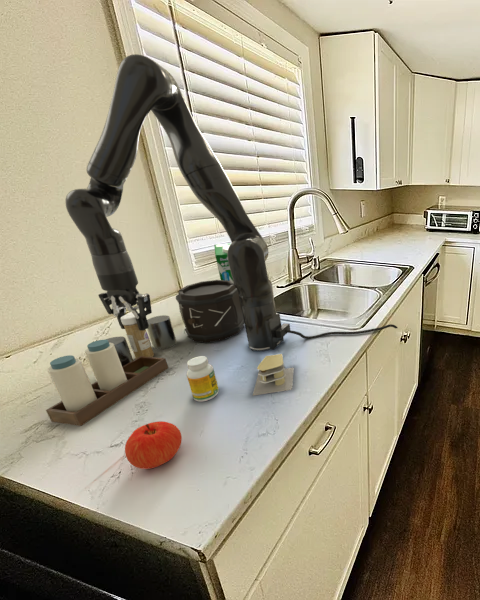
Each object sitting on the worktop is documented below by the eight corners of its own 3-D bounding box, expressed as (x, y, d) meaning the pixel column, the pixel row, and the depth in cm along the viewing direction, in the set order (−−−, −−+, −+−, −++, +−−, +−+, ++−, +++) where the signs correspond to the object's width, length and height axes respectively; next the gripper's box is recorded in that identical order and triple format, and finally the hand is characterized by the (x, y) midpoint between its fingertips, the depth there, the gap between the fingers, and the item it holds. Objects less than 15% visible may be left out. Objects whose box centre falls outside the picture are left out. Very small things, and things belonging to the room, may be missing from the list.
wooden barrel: (171, 342, 102) (157, 295, 96) (213, 318, 118) (203, 277, 113) (220, 347, 98) (208, 299, 93) (257, 323, 115) (249, 280, 109)
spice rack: (168, 369, 88) (165, 358, 86) (81, 427, 68) (75, 414, 66) (144, 366, 89) (141, 355, 88) (52, 423, 69) (45, 410, 68)
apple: (120, 478, 56) (105, 442, 53) (153, 442, 64) (141, 409, 61) (166, 477, 56) (153, 442, 53) (194, 442, 64) (183, 409, 61)
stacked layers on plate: (258, 372, 86) (255, 354, 84) (293, 367, 88) (291, 349, 86) (252, 395, 77) (248, 376, 75) (291, 389, 79) (288, 370, 77)
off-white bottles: (135, 386, 80) (117, 338, 75) (82, 420, 69) (57, 367, 64) (118, 384, 81) (99, 337, 76) (63, 417, 70) (37, 365, 65)
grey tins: (181, 342, 102) (174, 316, 99) (120, 379, 84) (108, 348, 81) (165, 340, 103) (157, 314, 100) (101, 376, 85) (88, 346, 82)
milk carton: (228, 314, 122) (213, 248, 113) (227, 306, 129) (214, 244, 120) (254, 310, 126) (242, 246, 117) (252, 302, 133) (240, 241, 124)
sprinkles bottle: (154, 358, 93) (140, 316, 88) (134, 363, 91) (118, 320, 86) (155, 352, 96) (141, 310, 92) (136, 356, 94) (121, 314, 89)
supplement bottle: (194, 391, 79) (184, 357, 75) (219, 385, 81) (211, 352, 77) (192, 405, 74) (181, 369, 71) (219, 398, 76) (209, 363, 73)
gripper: (151, 266, 86) (168, 324, 92) (106, 264, 89) (126, 321, 95) (124, 275, 79) (145, 336, 85) (76, 272, 82) (100, 332, 88)
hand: (135, 328), depth 90 cm, fingers open, 5 cm apart
